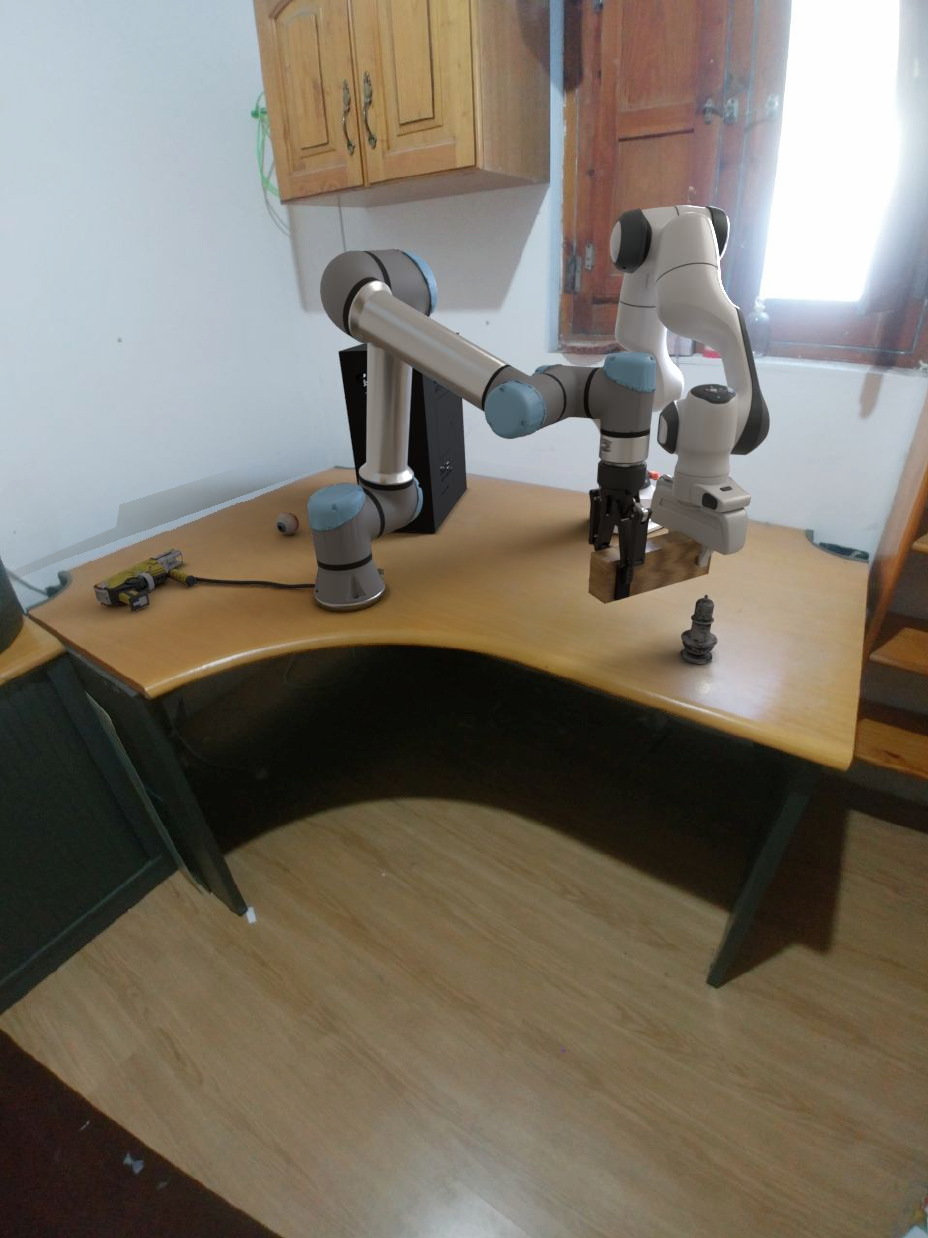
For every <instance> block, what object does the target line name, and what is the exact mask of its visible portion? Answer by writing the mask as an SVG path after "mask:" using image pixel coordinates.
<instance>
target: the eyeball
mask: <svg viewBox="0 0 928 1238" xmlns="http://www.w3.org/2000/svg"><path fill="white" fill-rule="evenodd" d="M299 525H300V522H299V519H298V517H297V516H296V515H295V514H294V513H292V512H287V511H286V512H282V513H280V514H279V515H278V516H277V517H276V520H275V527H276V529H277V530H278V531H279V532H280V533H281V534H282V535H285V536H286V535H287V536H289V535H293V534H295V533H296V532H297V531H298V529H299Z"/></svg>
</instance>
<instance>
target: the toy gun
mask: <svg viewBox="0 0 928 1238" xmlns="http://www.w3.org/2000/svg"><path fill="white" fill-rule="evenodd" d="M179 557H181V560H177V558H179ZM183 564H184V558H183V552H182V551H181V550H179V549H174V548H171V549H169V550H167V551H164V552H163V553H161V554H159V555H156V556H155V557H150V558H148V559H146V560H144V561H142V562H139V563H138V564H135V565H133V566H131V567H129V568H127V569H125V570H122V571H120V572H118V573H116V574H113V575H112V576H110V577H108V578H106V579H104V580H101V581H99V582H97V583H95V584H93V590H94V594H95V598H96V600H97V603H99V604H100V605H101V606H105V607H107V606H117V605H121V604H127V605H128V606H129V607H130V611H131V612H136V611H138V610H141V609H143V608H145V607H147V606H148V607H149V606H150V599H149V595H148V593H149V592H151V591H154V590H155V586H156V585H159V584H161V583H164V582H165V581H168V579H171V580H174V581H177V582H178V583H182V584H183V585H184V584H185V585H186V586H187V587H193V586H195V585H196V584H197V581H196V578H195V577H196V576H194V575H192V574H188V573H186V572H184V571H180V570H179V569H176V568H177V567H180V565H183ZM168 571H170V572H168Z"/></svg>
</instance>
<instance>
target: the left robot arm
mask: <svg viewBox="0 0 928 1238" xmlns="http://www.w3.org/2000/svg"><path fill="white" fill-rule="evenodd" d="M319 285H320V286H319V294H320V301H321V304H322V307H323V310H324V311H325V313H326V315H327V317H328V318H329V319H330V321H331V322H332V323H333V324H334V325H335V327H337V328H338V329H339V330H340V331H341V332H342V333H344V334H346V335H347V336H349V337H350V338H352V339H353V340H355V341H356V342H358V343H360V344H364V343H368V349H367V452H366V463H365V464H364V465H363V466H361V468H360V469H359V485H357V483H354V482H339V483H336V484H330V485H327V486H325V487H322V488H320V489H318V490H317V491H315V492H314V493H313V494H312V495H311V496H310V497H309V499H308V501H307V506H306V509H307V522H308V525H309V528H310V532H311V539H312V543H313V549H314V554H315V558H316V564H317V570H316V576H315V583H295V584H294V583H293V584H288V583H280V582H275V581H268V580H267V581H266V580H234V579H233V580H231V579H214V578H205V577H197V576H194V577H195V578H196V582H200V583H206V584H217V585H236V586H237V585H238V586H240V585H241V586H247V585H248V586H255V585H256V586H269V587H274V588H279V589H288V590H290V589H292V590H293V589H294V590H296V589H313V595H314V600H315V603H316V605H317V606H318V607H319V608H321V609H324V610H327V611H330V612H331V611H332V612H339V613H340V612H341V613H342V612H345V613H346V612H354V611H359V610H363V609H366V608H369V607H371V606H374V605H375V604H377V603H379V602H380V601H381V600H382V599H383V598H384V597H385V595H386V592H387V590H386V582H385V581H384V578H383V577H382V576H385V569H383V568H378V566H377V563H375V560H374V558H373V557H374V556H373V549H372V542H373V541H375V540H377V539H379V538H381V537H383V536H385V535H387V534H390V533H392V532H395V531H394V530H396V529H399V528H402V527H404V526H405V525H407V524H408V523H409V522H411V521H413V520H414V519H415V518H416V517H417V516H418V514H419V513H420V511H421V508H422V503H423V495H422V490H421V488H419V486H418V485H419V483H418V481H417V479H416V478H415V477H414V473H413V471H412V469H411V468H410V467H409V466H408V465H407V459H408V440H409V421H410V402H411V383H412V367H413V368H414V369H416V370H418V371H419V372H421V373H422V374H424V375H426V376H427V377H429V378H430V379H432V380H434V381H435V382H437V383H438V384H440V385H442V386H443V387H445V388H446V389H448V390H450V391H451V392H453V393H455V394H456V395H458V396H459V397H461V398H462V400H464V401H466V402H468V403H469V404H471V405H472V406H473V407H476V408H477V409H478V410H479V411H482V412H483V413H484V417H485V421H486V423H487V425H488V426H489V427H490V429H491V431H492V432H493V434H495V435H496V436H497V437H499V438H502V439H506V440H514V439H518V438H524V437H527V436H530V435H533V434H535V433H536V432H538V431H540V430H543V429H544V428H546V427H549V426H551V425H554V424H558V423H559V422H562V421H564V420H566V419H569V418H579V419H590V420H591V419H600V433H599V447H598V459H600V460H599V461H598V463H597V473H596V483H597V485H598V487H596V488H592V489H589V491H588V495H589V502H590V505H589V518H588V519H589V522H588V534H587V535H588V537H587V542H588V544H589V545H592V546H593V549H594V552H595V551H599V550H603V549H607V548H611V547H614V546H613V545H612V544H611V542H612V539H613V535H614V533H613V532H614V528H615V525H616V526H617V527H618V533H617V536H618V538H617V539H618V546H619V552H620V564H617V568H616V579H615V591H614V600H616V601H615V602H617V601H621V600H625V599H628V598H630V597H629V595H630V585H631V583H632V581H633V572H634V567H635V566H639V565H643V564H644V561H645V551H646V542H647V538H648V533H647V532H648V523H649V520H650V518H651V515H652V509H651V508H646V509H645V508H644V507H643V506H642V505H641V504H640V495H639V491H640V489H641V488H642V486H643V485H644V484H645V479H646V470H648V469H647V467H648V462H647V463H646V462H645V461H644V460H646V459H647V460H648V458H649V452H650V440H651V426H652V416H653V413H652V410H653V402H654V394H655V390H656V384H655V382H656V359H655V357H654V356H653V355H651V354H649V353H643V352H629V351H627V352H626V351H623V352H614V353H609V354H608V355H606V356H605V359H604V361H603V366H597V367H595V366H581V365H566V364H565V365H564V364H562V363H555V364H543V365H540V366H537V368H535V370H534V372H533V373H532V374H531V375H529V374H527V373H525V372H523V371H521V370H519V369H518V368H516V367H515V366H512V365H511V364H510V363H507V362H506V361H504V360H503V359H501V358H499V357H497V356H496V355H494V354H492V353H491V352H489V351H488V350H486V349H484V348H482V347H480V346H479V345H477V344H475V343H474V342H472V341H471V340H468V339H467V338H465V337H463V336H462V335H460V334H459V335H458V334H457V333H458V332H455V331H453V330H451V329H450V328H448V327H446V326H445V325H443V324H442V323H440V322H438V321H436V320H435V319H433V318H431V314H433V313H434V312H435V309H436V307H437V303H438V286H437V285H438V284H437V281H436V278H435V275H434V273H433V270H432V269H431V268H430V266H429V265H428V263H427V261H426V260H425V259H424V258H423V257H421V256H420V255H419V254H418V253H417V252H413V251H410V250H404V249H403V250H402V249H399V248H397V249H395V248H391V249H390V248H389V249H375V250H374V249H371V250H348V251H344V252H341V253H340V254H338V255H336V256H335V257H334V258H332V259H331V260H330V261H329V263H328V264H327V265H326V266H325V268H324V270H323V272H322V276H321V278H320V284H319ZM599 486H601V488H599ZM627 518H628V519H627ZM623 519H626V520H623ZM627 558H628V559H627ZM170 571H171V570H170ZM170 571H168V572H170Z"/></svg>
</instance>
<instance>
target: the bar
mask: <svg viewBox="0 0 928 1238" xmlns="http://www.w3.org/2000/svg"><path fill="white" fill-rule="evenodd" d="M610 547H611V546H610ZM702 552H703V550H701V544H699V543H697V542H695V541H694V540H693V539H691V538H689V537H687V536H685V535H682V534H680V533H678V532H676V531H674V532H670V533H668V532H667V533H663V534H658V535H655V536H651V537H647V542H646V551H645V561H644V564H643V565H639V566H635V567H634V572H633V581H632V583H631V585H630V595H629V597H628V598H630V597H634V596H636V595H637V596H638V595H640V594H644V593H647V592H651V591H654V590H657V589H661V588H665V587H668V586H671V585H672V586H673V585H674V584H678V583H682V582H686V581H688V580H692V579H696V578H699V577H702V576H706V575H709V572H710V568H711V563H712V556H713V553H712V554H711V556H710V557H709V558H708V564H707V566H705V567H699V566H697V565H695V556H698V555H701V553H702ZM627 559H628V558H627ZM617 564H620V552H619V545H616V546H613V547H611V548H607V549H603V550H599V551H595V550H594V551H591V552H590V560H589V576H588V589H587V590H588V592H587V593H588V594H590V595H591V596H592V597H593V598H595V599H597V600H598V601H599V602H601V603H602V604H604V605H606V604H610V603H613V602H617V601H616V600H614V591H615V579H616V568H617Z"/></svg>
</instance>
